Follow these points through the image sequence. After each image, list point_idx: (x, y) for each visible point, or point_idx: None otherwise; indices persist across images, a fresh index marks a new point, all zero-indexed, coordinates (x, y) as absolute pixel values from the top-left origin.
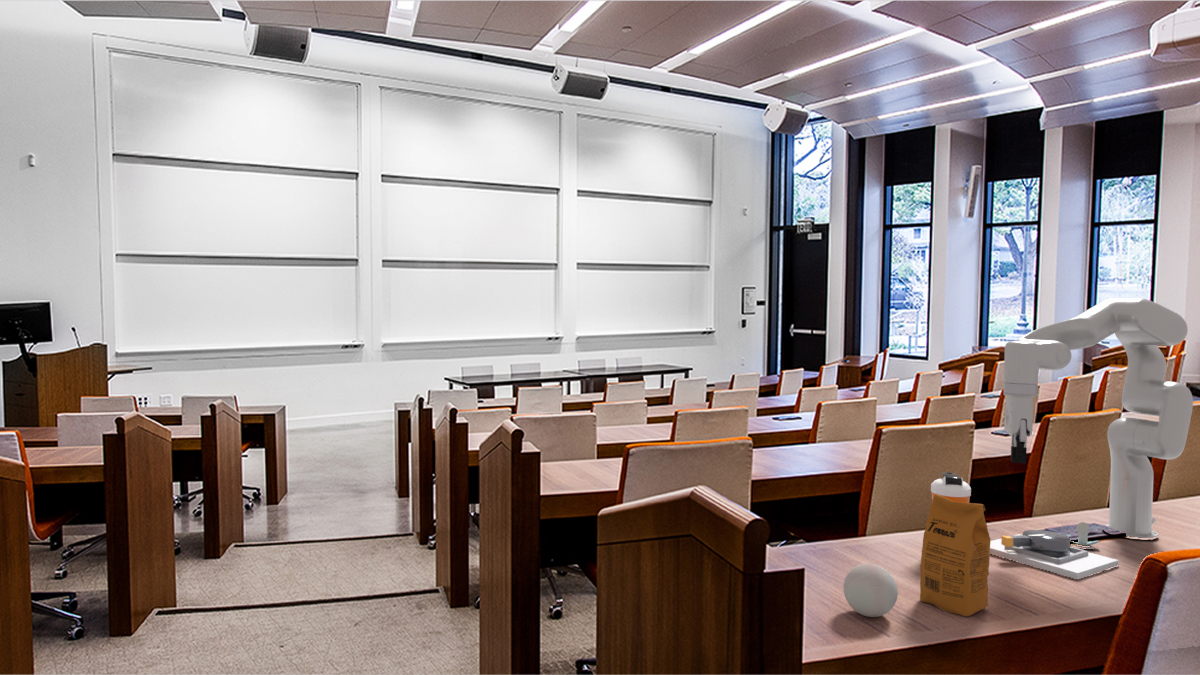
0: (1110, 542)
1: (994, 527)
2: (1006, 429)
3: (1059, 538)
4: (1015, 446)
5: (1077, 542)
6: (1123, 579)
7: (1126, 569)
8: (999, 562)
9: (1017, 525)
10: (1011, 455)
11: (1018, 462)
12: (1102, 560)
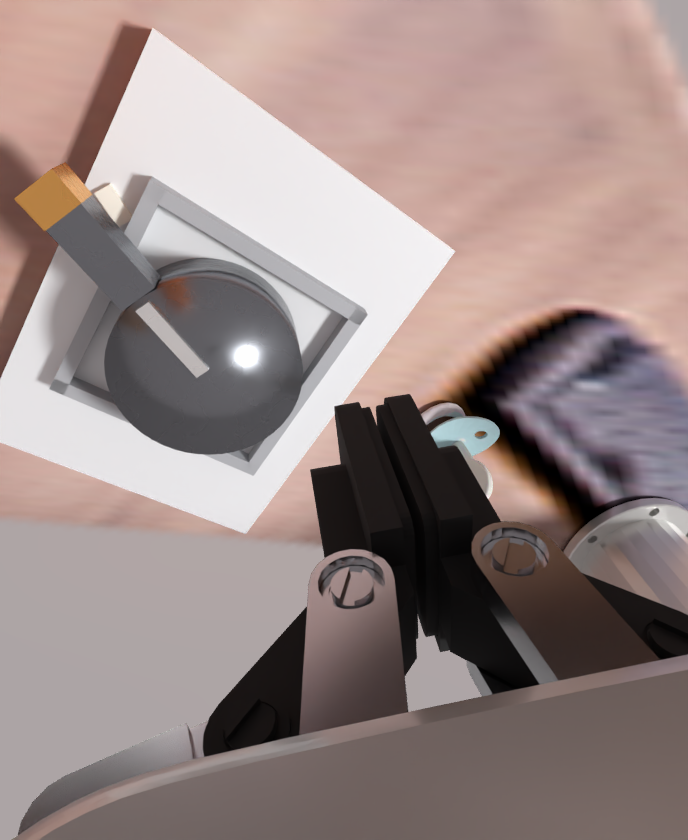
0: (521, 509)
1: (636, 145)
2: (626, 780)
3: (191, 420)
4: (316, 585)
5: (448, 438)
6: (110, 525)
7: (231, 534)
8: (12, 142)
9: (684, 249)
10: (401, 436)
11: (341, 460)
12: (212, 498)
